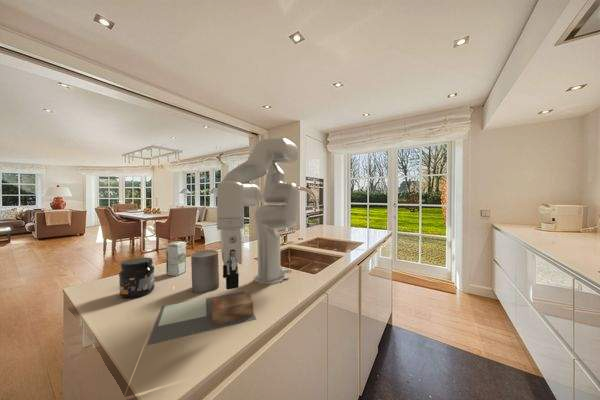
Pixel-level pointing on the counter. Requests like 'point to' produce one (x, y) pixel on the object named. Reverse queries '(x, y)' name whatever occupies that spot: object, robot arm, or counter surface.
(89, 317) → the counter surface
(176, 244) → the syrup box
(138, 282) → the supplement container
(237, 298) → the brown rectangular block
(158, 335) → the mat
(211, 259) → the pillar candle
